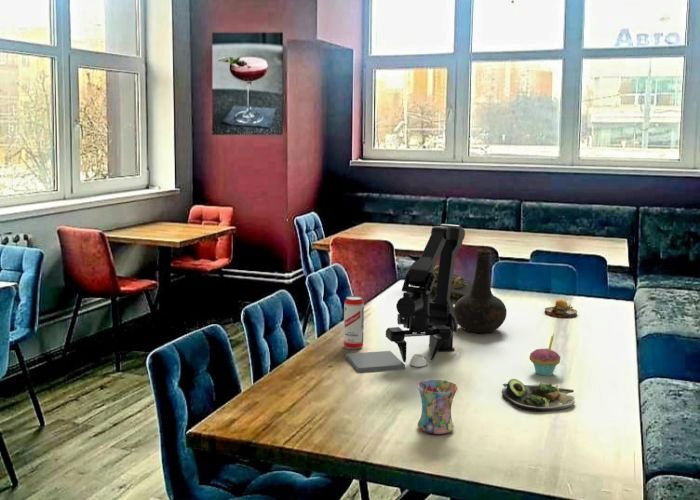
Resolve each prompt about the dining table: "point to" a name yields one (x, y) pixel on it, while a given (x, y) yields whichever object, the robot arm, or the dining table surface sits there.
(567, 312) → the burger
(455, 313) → the dark brown vase
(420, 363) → the white jar
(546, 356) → the cupcake
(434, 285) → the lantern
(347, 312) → the beer can
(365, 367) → the coaster
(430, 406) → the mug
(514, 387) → the salad plate
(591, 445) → the dining table surface
